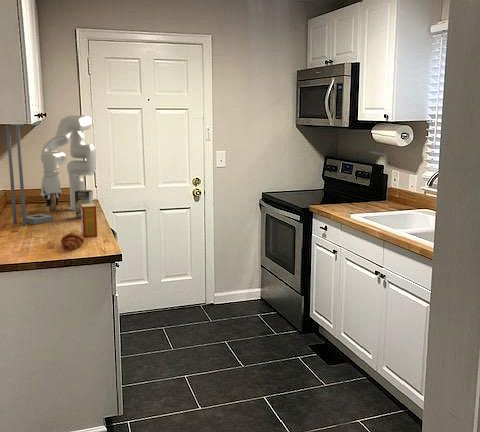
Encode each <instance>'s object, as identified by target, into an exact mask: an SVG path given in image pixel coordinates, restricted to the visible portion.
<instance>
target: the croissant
mask: <svg viewBox="0 0 480 432" xmlns="http://www.w3.org/2000/svg"><path fill="white" fill-rule="evenodd" d="M84 243H85V242H84V237H83V236H81V235H79V234H76V233H74V232H73V233H72V232H70V233H67V234H64V235H62V236H61V239H60V244H61V247H62V248H63V249H64V250H66V251H70V250H71V249H72V250H77V249H78V248H80V247H81V245H83V244H84ZM72 250H71V251H72Z"/></svg>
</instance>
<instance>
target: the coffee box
mask: <svg viewBox="0 0 480 432" xmlns="http://www.w3.org/2000/svg"><path fill="white" fill-rule="evenodd" d="M93 191H94V190H92V189H91V190H90V189H85V190H77V191H75V209H76V210H75V218H80V219H81V207H80V204H90V203H94V199H93V198H94V197H93Z"/></svg>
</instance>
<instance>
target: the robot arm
mask: <svg viewBox="0 0 480 432" xmlns="http://www.w3.org/2000/svg"><path fill="white" fill-rule="evenodd" d="M92 124H93V122H92V118H91V117H90V116H89V115H66V116H65V117H63V118H60V121H59V122H58V127H57V130H56V133H55V135H54V137H52V138H51V139H50V140H48V141H47V142H46V143H45V144H44V145H43V148H42V150H41V155H40V160H41V162H42V169H43V170H42V171H43V176H42V177H41V192H40V196H41V197H42V198H44V199H45V200H46V201H45V202H46V206H47V207H49V206H51V200H50V194H55V196H56V206H58V205H59V198H60V196H61V195H62V194H63V193H64V192H63V190H62V188H61V181H60V177H59V176H58V175H59V174H60V172H59V171H58V165H59V166H60V165H64V164H65V163H66V161H67V155H66V154H65V153H64V152H62V151H54V150H55V149H57V148H60V147H63V146H64V145H66V144H69V142H70V149H69V152H70V153H69V154H70V156H71V158H73V159H82V160H70V161H69V162H67V165H66V170H67V174H68V180H69V196H70V197H69V198H70V201H69V202H70V206H68V210H69V211H76V209H75V191H77V190H86V182H85V179H84V178H83V176H88V177H89V176H93V175H94V174H95V172H96V157H97V155H96V147H95V146H94V145H93V144H91V143H85V135H84V133H83V132H84V131H88V130H89V129H91V127H92ZM84 159H86V160H84Z"/></svg>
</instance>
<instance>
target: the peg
mask: <svg viewBox="0 0 480 432" xmlns="http://www.w3.org/2000/svg"><path fill="white" fill-rule="evenodd" d="M50 200H51V206H48V211H49V212H57V205H56V196H55V194H50Z"/></svg>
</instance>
